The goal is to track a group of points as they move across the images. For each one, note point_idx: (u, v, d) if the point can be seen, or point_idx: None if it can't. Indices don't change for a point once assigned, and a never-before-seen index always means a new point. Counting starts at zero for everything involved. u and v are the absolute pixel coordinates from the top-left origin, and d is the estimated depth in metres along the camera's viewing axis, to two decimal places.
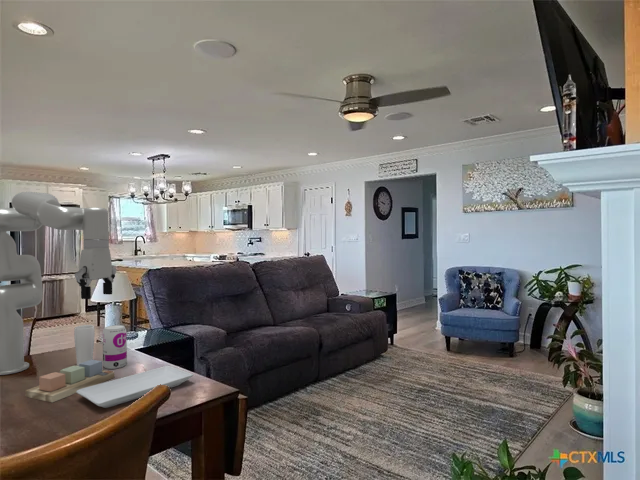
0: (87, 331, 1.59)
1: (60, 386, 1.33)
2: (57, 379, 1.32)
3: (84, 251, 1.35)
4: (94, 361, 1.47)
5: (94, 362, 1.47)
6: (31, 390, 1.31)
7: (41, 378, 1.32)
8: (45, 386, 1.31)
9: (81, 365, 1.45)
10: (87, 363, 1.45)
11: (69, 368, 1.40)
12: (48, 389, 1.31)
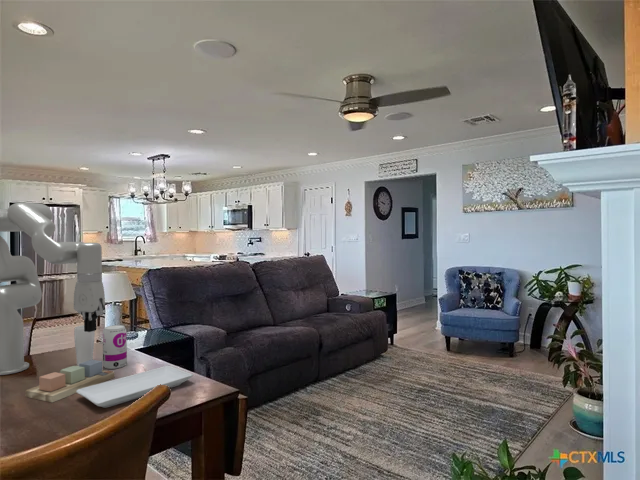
0: None
1: (60, 386, 1.33)
2: (57, 379, 1.32)
3: (98, 284, 1.44)
4: (94, 361, 1.47)
5: (94, 362, 1.47)
6: (31, 390, 1.31)
7: (41, 378, 1.32)
8: (45, 386, 1.31)
9: (81, 365, 1.45)
10: (87, 363, 1.45)
11: (69, 368, 1.40)
12: (48, 389, 1.31)
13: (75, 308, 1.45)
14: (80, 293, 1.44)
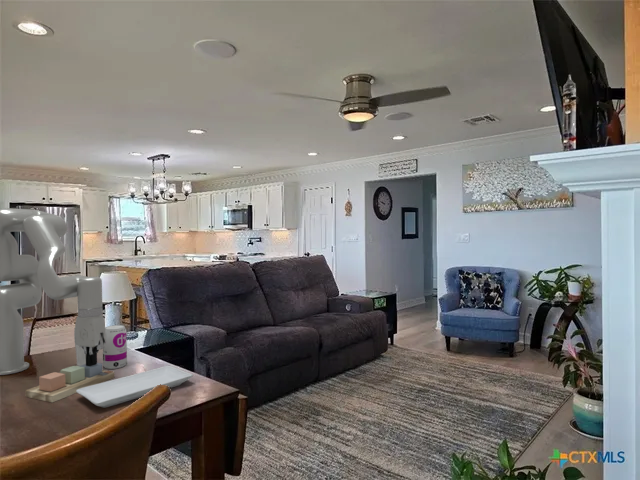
0: None
1: (60, 386, 1.33)
2: (57, 379, 1.32)
3: (99, 319, 1.44)
4: None
5: None
6: (31, 390, 1.31)
7: (41, 378, 1.32)
8: (45, 386, 1.31)
9: None
10: None
11: (69, 368, 1.40)
12: (48, 389, 1.31)
13: (76, 343, 1.45)
14: (81, 328, 1.44)
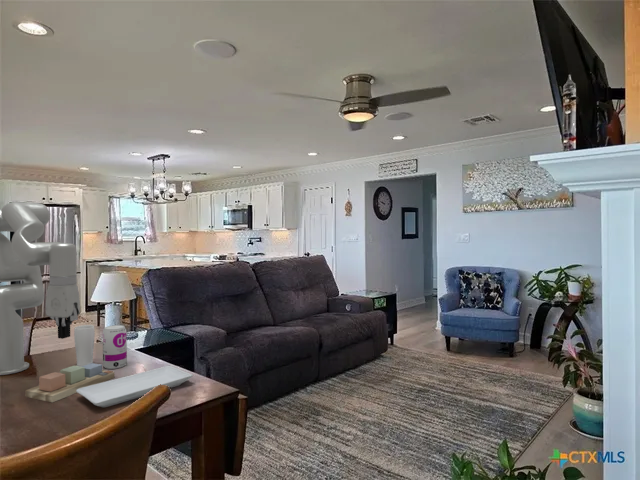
0: (87, 331, 1.59)
1: (60, 386, 1.33)
2: (57, 379, 1.32)
3: (73, 288, 1.35)
4: (94, 365, 1.47)
5: (94, 365, 1.47)
6: (31, 390, 1.31)
7: (41, 378, 1.32)
8: (45, 386, 1.31)
9: None
10: (87, 367, 1.45)
11: (69, 368, 1.40)
12: (48, 389, 1.31)
13: (47, 313, 1.35)
14: (53, 297, 1.34)
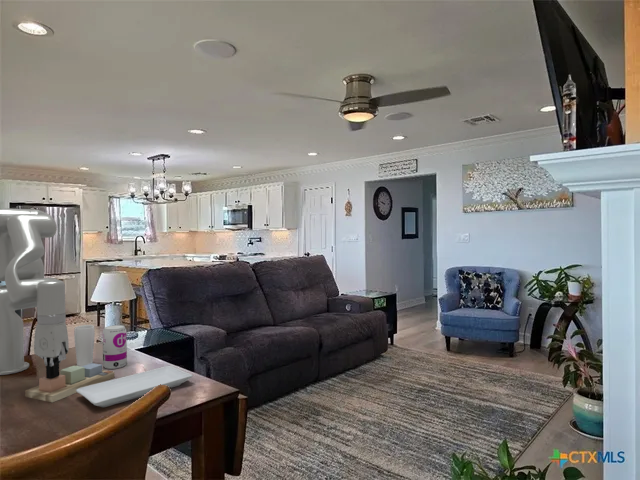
0: (87, 331, 1.59)
1: (60, 388, 1.33)
2: (57, 381, 1.32)
3: (61, 326, 1.31)
4: (94, 365, 1.47)
5: (94, 365, 1.47)
6: (31, 390, 1.31)
7: (41, 380, 1.32)
8: (45, 388, 1.31)
9: None
10: (87, 367, 1.45)
11: (69, 368, 1.40)
12: (48, 391, 1.31)
13: (35, 353, 1.32)
14: (41, 336, 1.31)
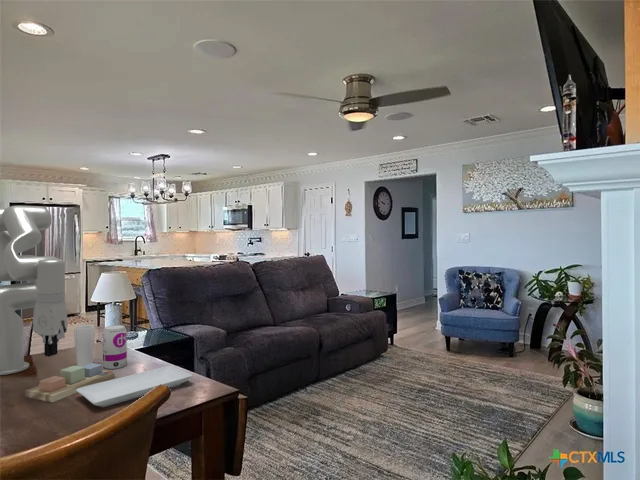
0: (87, 331, 1.59)
1: None
2: (57, 383, 1.32)
3: (60, 305, 1.31)
4: (94, 365, 1.47)
5: (94, 365, 1.47)
6: (31, 390, 1.31)
7: (41, 382, 1.32)
8: (45, 390, 1.31)
9: None
10: (87, 367, 1.45)
11: (69, 368, 1.40)
12: None
13: (34, 330, 1.32)
14: (40, 314, 1.31)
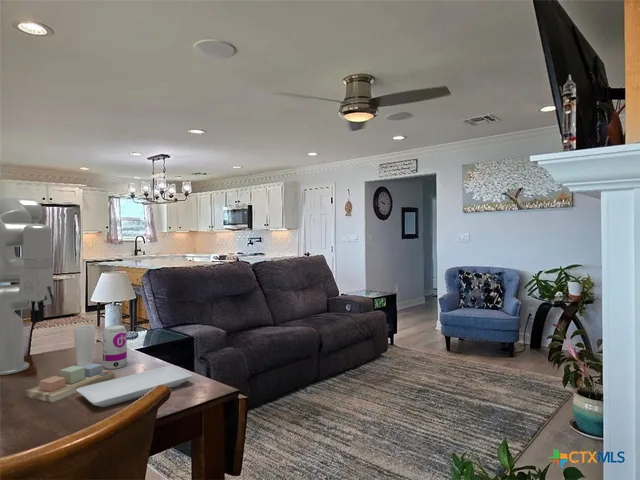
0: (87, 331, 1.59)
1: None
2: (57, 383, 1.32)
3: (46, 271, 1.31)
4: (94, 365, 1.47)
5: (94, 365, 1.47)
6: (31, 390, 1.31)
7: (41, 382, 1.32)
8: (45, 390, 1.31)
9: None
10: (87, 367, 1.45)
11: (69, 368, 1.40)
12: None
13: (20, 296, 1.32)
14: (26, 280, 1.30)
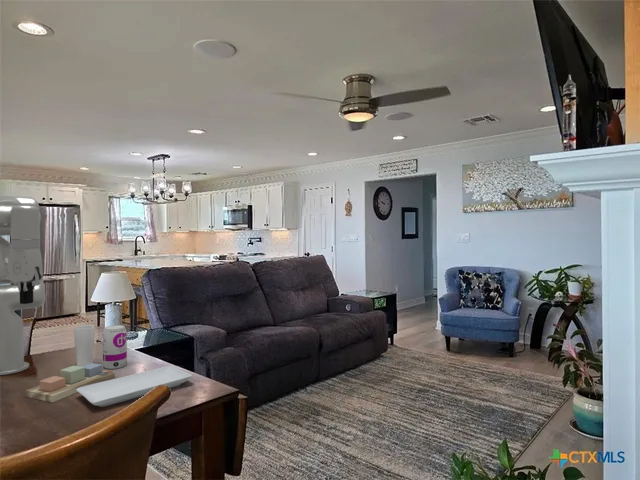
0: (87, 331, 1.59)
1: None
2: (57, 383, 1.32)
3: (34, 251, 1.30)
4: (94, 365, 1.47)
5: (94, 365, 1.47)
6: (31, 390, 1.31)
7: (41, 382, 1.32)
8: (45, 390, 1.31)
9: None
10: (87, 367, 1.45)
11: (69, 368, 1.40)
12: None
13: (9, 278, 1.31)
14: (14, 261, 1.30)
